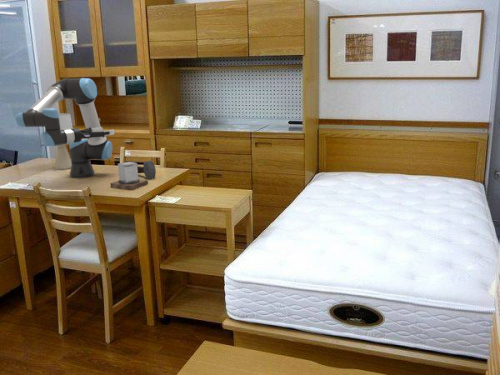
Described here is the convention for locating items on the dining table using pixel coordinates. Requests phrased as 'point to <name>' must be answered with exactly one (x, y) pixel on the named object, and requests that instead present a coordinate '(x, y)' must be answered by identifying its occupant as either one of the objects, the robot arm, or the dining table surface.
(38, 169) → the dining table surface
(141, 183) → the post base
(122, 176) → the grey block
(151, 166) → the hammer
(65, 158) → the lamp
